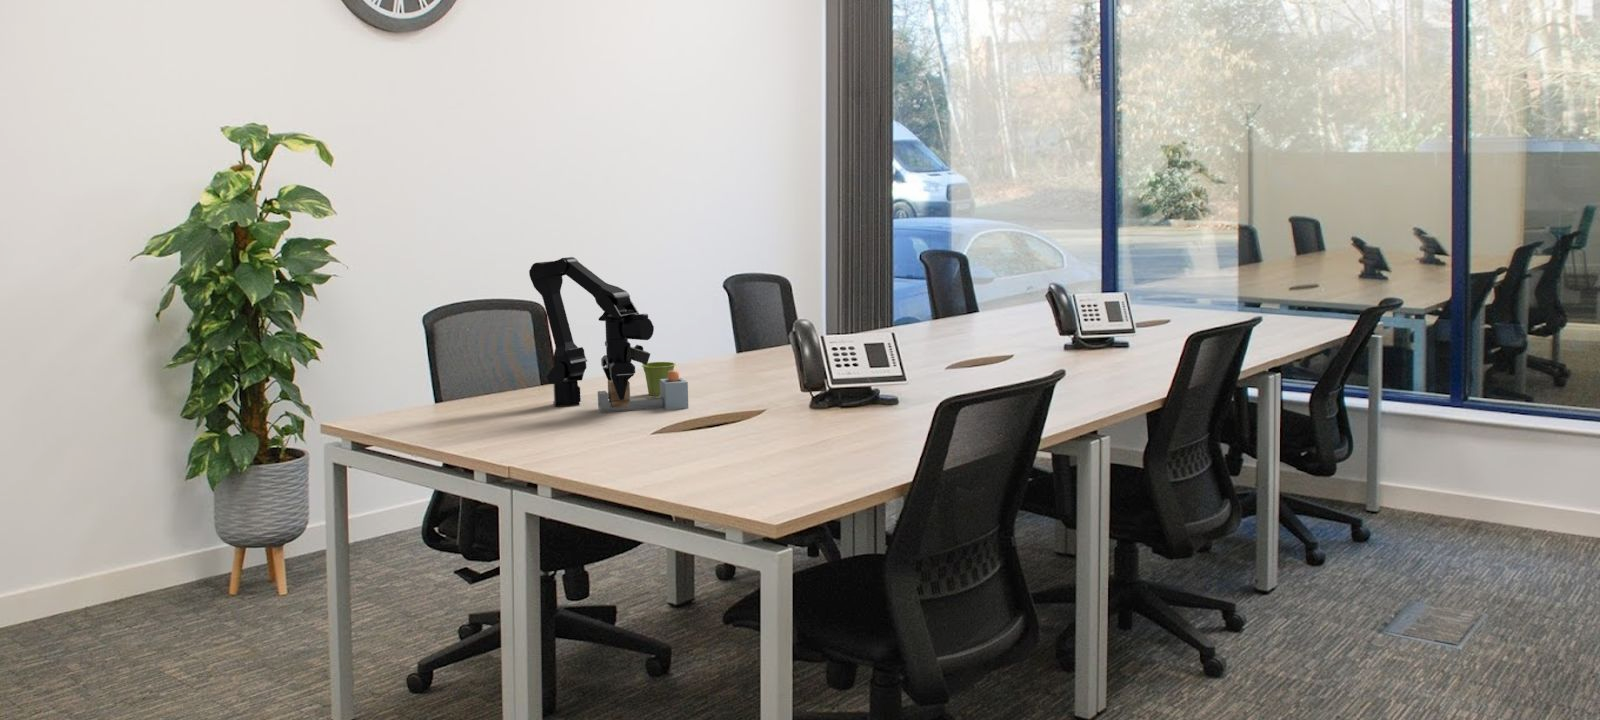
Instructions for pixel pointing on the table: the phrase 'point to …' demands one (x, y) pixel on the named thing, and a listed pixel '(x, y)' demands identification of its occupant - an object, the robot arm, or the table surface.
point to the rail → (635, 404)
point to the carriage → (614, 396)
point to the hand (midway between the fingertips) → (618, 396)
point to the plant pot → (656, 375)
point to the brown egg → (673, 376)
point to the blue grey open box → (674, 394)
